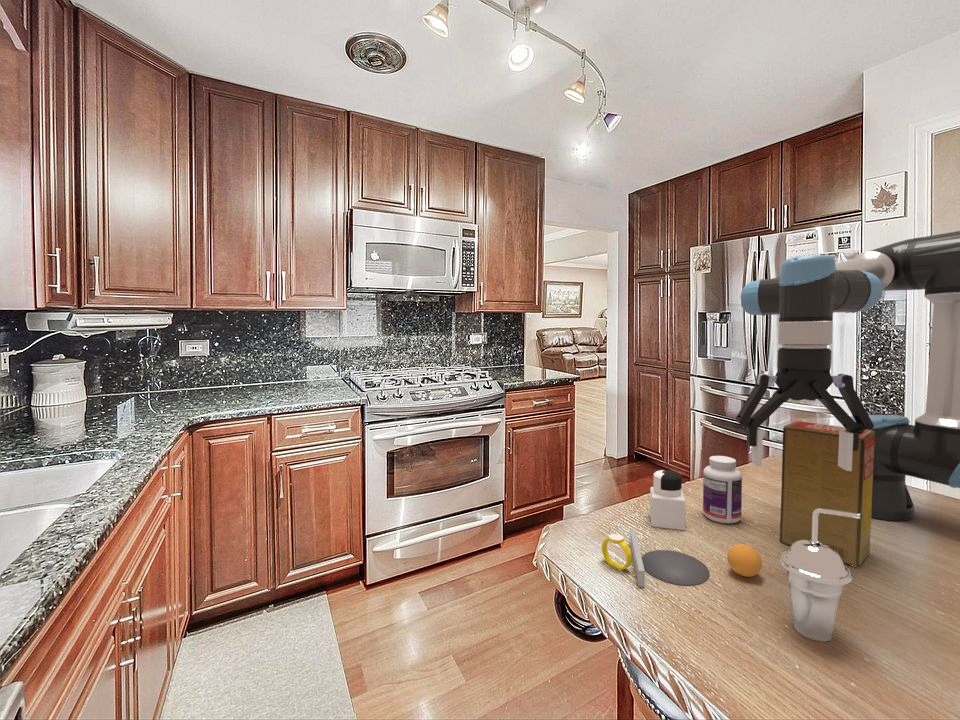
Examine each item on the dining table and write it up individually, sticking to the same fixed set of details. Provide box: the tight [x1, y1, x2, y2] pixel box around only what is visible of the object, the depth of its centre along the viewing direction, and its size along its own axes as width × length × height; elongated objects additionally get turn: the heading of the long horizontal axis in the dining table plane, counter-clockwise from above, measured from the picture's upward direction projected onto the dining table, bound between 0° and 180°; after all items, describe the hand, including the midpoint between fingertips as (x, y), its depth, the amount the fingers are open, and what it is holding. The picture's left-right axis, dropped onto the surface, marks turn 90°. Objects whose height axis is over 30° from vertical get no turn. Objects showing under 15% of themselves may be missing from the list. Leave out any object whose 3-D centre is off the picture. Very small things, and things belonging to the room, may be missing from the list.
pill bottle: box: [702, 455, 743, 524], centre depth 103 cm, size 8×8×14 cm
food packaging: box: [779, 420, 875, 568], centre depth 88 cm, size 13×9×25 cm
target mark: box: [641, 549, 710, 587], centre depth 83 cm, size 12×12×1 cm
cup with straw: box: [779, 508, 862, 642], centre depth 64 cm, size 8×9×20 cm
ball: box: [726, 543, 763, 578], centre depth 80 cm, size 6×6×6 cm
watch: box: [601, 533, 633, 571], centre depth 84 cm, size 6×3×6 cm, turn 37°
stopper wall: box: [629, 528, 646, 588], centre depth 85 cm, size 1×16×3 cm, turn 166°
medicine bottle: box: [649, 469, 687, 531], centre depth 101 cm, size 7×7×12 cm
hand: (799, 466), depth 77 cm, fingers open, 13 cm apart
